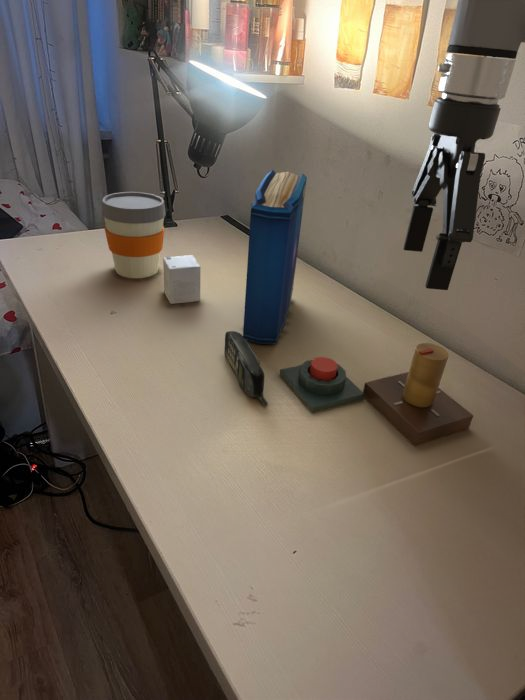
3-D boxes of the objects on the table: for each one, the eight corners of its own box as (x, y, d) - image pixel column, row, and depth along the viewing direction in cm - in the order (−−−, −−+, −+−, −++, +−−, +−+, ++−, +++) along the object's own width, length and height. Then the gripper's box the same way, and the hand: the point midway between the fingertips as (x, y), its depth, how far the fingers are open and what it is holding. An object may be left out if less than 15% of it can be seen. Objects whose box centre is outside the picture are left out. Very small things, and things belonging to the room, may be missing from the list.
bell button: (326, 364, 78) (328, 354, 77) (340, 378, 75) (342, 368, 75) (304, 369, 77) (306, 359, 76) (318, 383, 74) (320, 373, 73)
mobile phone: (222, 329, 81) (254, 380, 69) (239, 327, 82) (275, 377, 70) (221, 356, 83) (252, 409, 71) (238, 353, 84) (272, 405, 72)
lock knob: (419, 386, 75) (433, 338, 71) (439, 403, 72) (456, 354, 68) (396, 392, 74) (409, 344, 69) (416, 410, 70) (431, 360, 66)
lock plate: (412, 382, 81) (416, 368, 79) (468, 429, 72) (474, 414, 70) (361, 395, 77) (365, 381, 75) (414, 446, 68) (419, 431, 66)
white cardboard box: (200, 301, 99) (201, 266, 95) (169, 304, 97) (169, 268, 93) (192, 288, 103) (193, 254, 100) (163, 291, 101) (162, 256, 97)
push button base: (327, 365, 83) (330, 349, 81) (363, 400, 76) (367, 384, 74) (279, 375, 79) (281, 359, 78) (311, 413, 72) (314, 396, 70)
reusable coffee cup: (96, 265, 109) (89, 195, 101) (147, 254, 117) (144, 188, 109) (125, 286, 102) (120, 213, 94) (178, 273, 109) (177, 204, 101)
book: (278, 352, 85) (295, 204, 72) (237, 346, 86) (246, 198, 73) (292, 298, 103) (307, 172, 90) (258, 293, 104) (268, 167, 91)
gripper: (413, 87, 70) (381, 235, 81) (471, 108, 49) (417, 305, 60) (466, 92, 70) (427, 239, 81) (548, 115, 49) (480, 311, 60)
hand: (423, 267), depth 70 cm, fingers open, 13 cm apart
